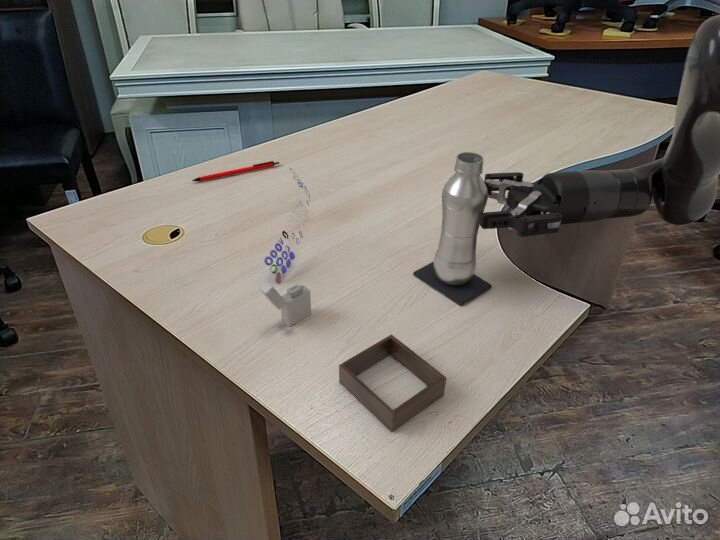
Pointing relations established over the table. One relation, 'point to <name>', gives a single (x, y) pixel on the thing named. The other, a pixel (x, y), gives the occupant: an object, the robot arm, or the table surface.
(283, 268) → the ring set
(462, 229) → the silver metal bottle
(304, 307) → the lighter
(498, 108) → the table surface
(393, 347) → the bottle stand
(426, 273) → the mat
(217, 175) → the pen
